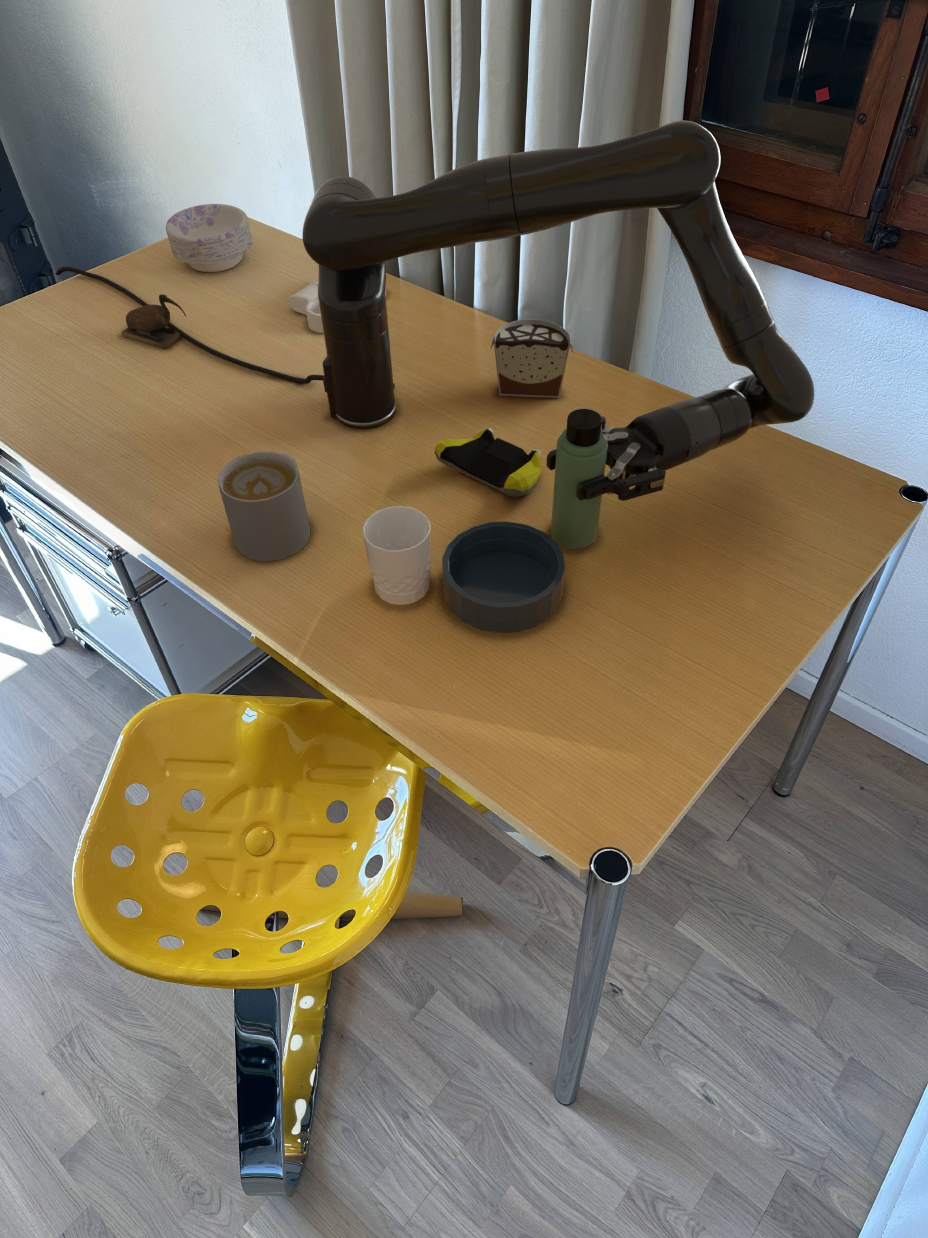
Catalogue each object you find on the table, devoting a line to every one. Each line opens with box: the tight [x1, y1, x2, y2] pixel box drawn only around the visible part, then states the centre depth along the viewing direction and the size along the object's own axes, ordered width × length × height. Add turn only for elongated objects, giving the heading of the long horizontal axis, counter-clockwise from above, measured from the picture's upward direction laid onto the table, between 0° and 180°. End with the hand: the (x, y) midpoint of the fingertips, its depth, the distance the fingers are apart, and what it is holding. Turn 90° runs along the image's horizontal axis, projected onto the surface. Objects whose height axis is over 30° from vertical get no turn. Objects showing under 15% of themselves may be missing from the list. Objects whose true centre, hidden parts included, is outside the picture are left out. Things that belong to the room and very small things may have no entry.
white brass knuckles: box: [287, 278, 387, 334], centre depth 154 cm, size 3×18×15 cm
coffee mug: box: [217, 450, 311, 563], centre depth 112 cm, size 13×10×10 cm
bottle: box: [550, 408, 608, 550], centre depth 107 cm, size 6×6×18 cm
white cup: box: [362, 505, 432, 606], centre depth 105 cm, size 8×8×10 cm
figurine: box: [121, 293, 187, 350], centre depth 146 cm, size 14×4×9 cm, turn 63°
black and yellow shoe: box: [434, 427, 542, 498], centre depth 120 cm, size 15×6×10 cm
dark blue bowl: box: [441, 520, 566, 634], centre depth 106 cm, size 15×15×5 cm
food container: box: [489, 318, 574, 399], centre depth 134 cm, size 12×6×10 cm, turn 84°
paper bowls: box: [165, 203, 253, 273], centre depth 165 cm, size 15×15×8 cm
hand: (563, 477), depth 105 cm, fingers closed on bottle, 6 cm apart
